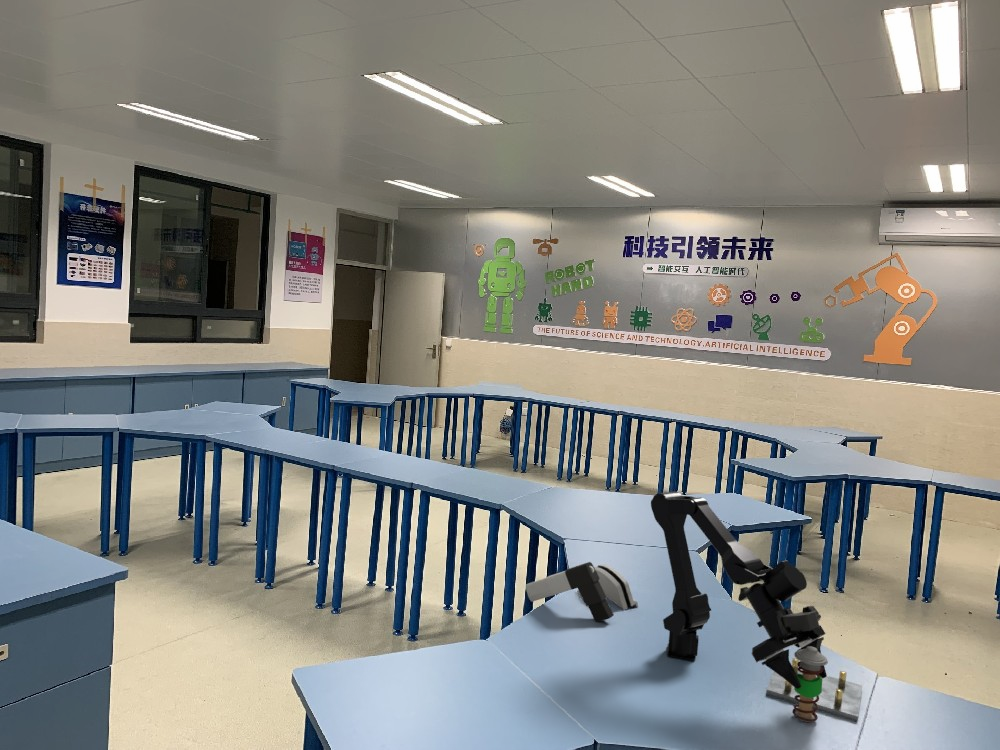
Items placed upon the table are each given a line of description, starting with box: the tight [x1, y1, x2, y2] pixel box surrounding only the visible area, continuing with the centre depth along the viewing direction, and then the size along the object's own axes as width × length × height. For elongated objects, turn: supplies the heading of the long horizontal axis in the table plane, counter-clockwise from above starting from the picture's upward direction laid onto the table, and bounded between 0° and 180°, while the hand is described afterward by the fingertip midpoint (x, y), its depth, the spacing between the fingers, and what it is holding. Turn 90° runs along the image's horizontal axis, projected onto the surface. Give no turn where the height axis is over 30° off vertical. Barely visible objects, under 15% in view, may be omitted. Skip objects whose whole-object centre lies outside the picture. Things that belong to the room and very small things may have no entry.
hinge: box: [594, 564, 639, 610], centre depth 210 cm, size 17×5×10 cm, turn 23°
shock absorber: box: [791, 646, 829, 723], centre depth 150 cm, size 6×6×15 cm
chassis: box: [765, 657, 863, 723], centre depth 162 cm, size 18×16×4 cm
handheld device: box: [525, 561, 614, 623], centre depth 198 cm, size 4×22×15 cm, turn 57°
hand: (812, 682), depth 149 cm, fingers open, 9 cm apart
